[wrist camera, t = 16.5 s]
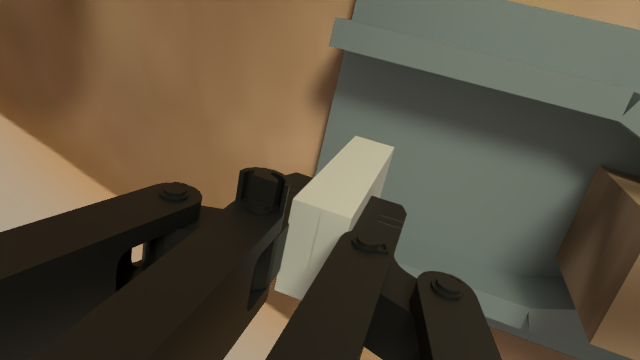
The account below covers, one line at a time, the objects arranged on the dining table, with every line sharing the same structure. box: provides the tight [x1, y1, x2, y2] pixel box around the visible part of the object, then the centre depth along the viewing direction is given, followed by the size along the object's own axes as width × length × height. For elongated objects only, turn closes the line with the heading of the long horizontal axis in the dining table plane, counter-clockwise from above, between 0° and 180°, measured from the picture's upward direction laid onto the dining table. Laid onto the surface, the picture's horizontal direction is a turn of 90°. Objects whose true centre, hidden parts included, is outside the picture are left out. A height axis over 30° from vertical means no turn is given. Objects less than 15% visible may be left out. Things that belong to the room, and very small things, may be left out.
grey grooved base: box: [315, 0, 640, 360], centre depth 18 cm, size 16×24×11 cm, turn 77°
